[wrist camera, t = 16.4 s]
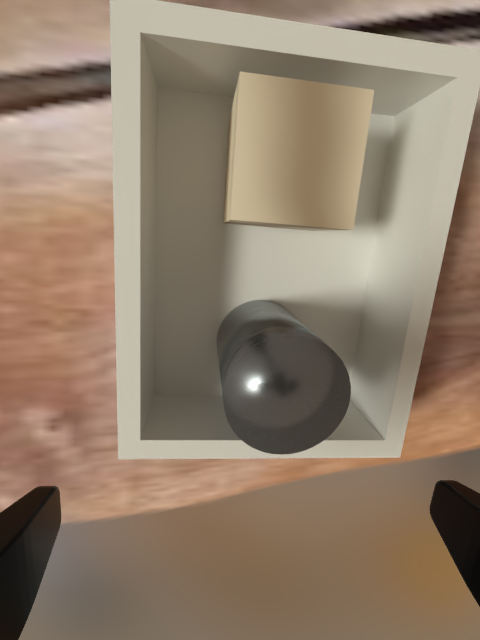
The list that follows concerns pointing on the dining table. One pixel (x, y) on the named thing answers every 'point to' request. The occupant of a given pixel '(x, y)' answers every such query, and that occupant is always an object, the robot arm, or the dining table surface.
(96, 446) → the dining table surface
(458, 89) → the tote
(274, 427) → the metal cylinder
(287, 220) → the wood cube
